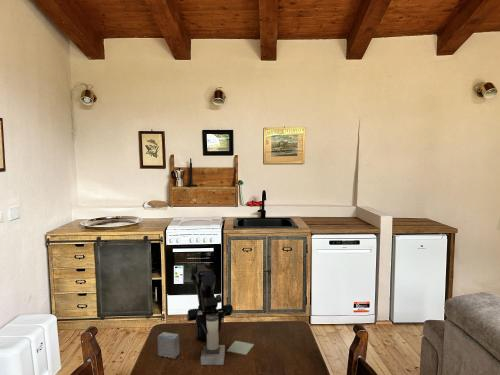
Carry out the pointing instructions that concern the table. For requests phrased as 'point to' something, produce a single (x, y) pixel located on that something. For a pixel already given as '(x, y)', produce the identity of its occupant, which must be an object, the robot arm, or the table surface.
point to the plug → (212, 331)
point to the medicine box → (168, 345)
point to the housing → (213, 356)
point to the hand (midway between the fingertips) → (213, 332)
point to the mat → (240, 347)
